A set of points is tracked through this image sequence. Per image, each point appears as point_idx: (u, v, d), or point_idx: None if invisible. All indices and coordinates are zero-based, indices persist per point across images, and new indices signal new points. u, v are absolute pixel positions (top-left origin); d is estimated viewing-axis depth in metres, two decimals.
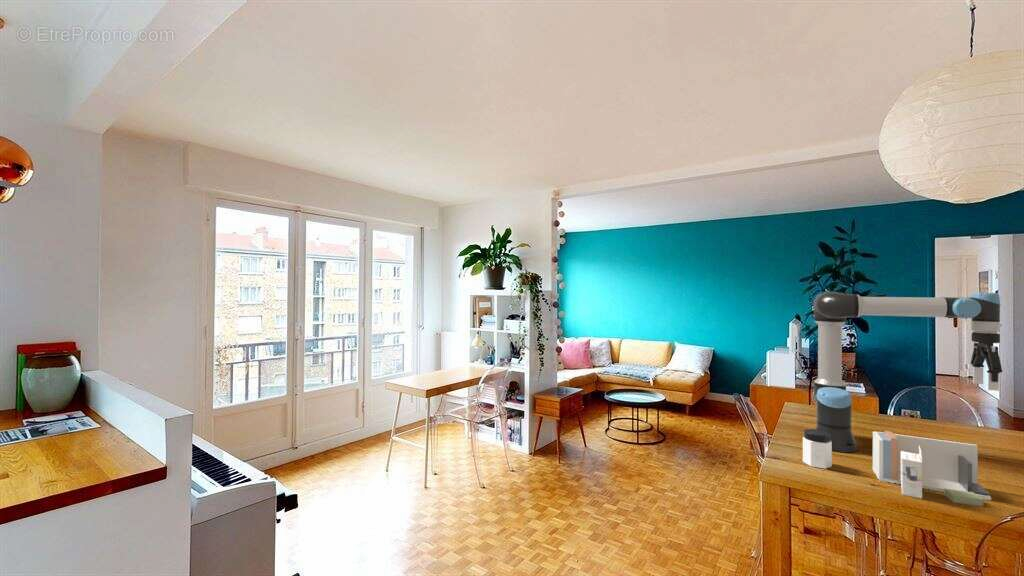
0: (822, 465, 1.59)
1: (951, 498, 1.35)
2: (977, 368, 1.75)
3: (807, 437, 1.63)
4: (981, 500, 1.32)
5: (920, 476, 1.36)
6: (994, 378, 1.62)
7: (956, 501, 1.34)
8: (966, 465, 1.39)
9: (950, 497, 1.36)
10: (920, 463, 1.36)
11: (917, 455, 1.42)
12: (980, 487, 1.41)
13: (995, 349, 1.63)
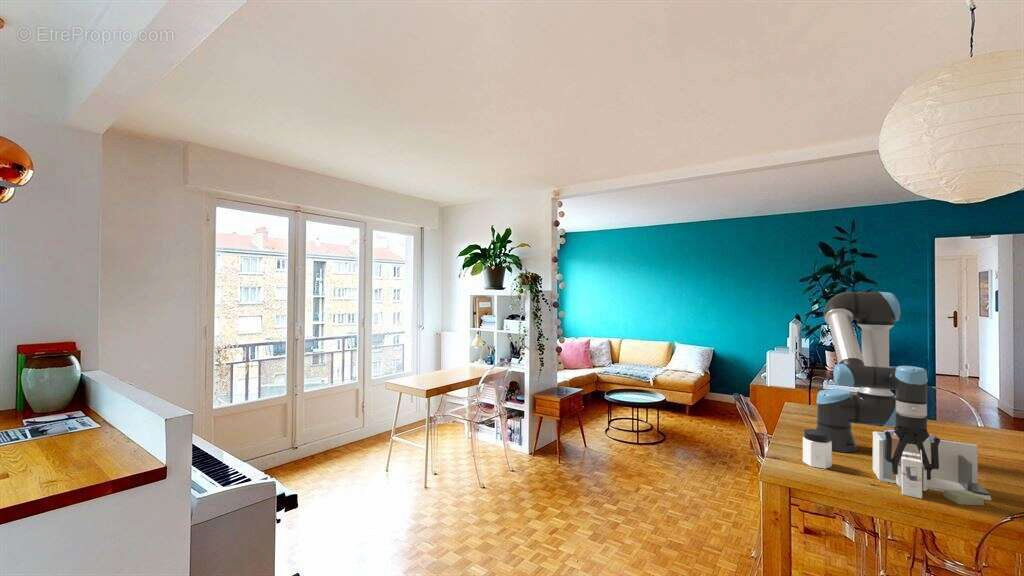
0: (822, 465, 1.59)
1: (955, 500, 1.34)
2: (922, 469, 1.40)
3: (807, 437, 1.63)
4: (982, 499, 1.33)
5: (920, 476, 1.36)
6: (892, 469, 1.43)
7: (961, 502, 1.33)
8: (966, 465, 1.39)
9: (953, 499, 1.35)
10: (920, 463, 1.36)
11: (917, 455, 1.42)
12: (980, 487, 1.41)
13: (885, 435, 1.44)
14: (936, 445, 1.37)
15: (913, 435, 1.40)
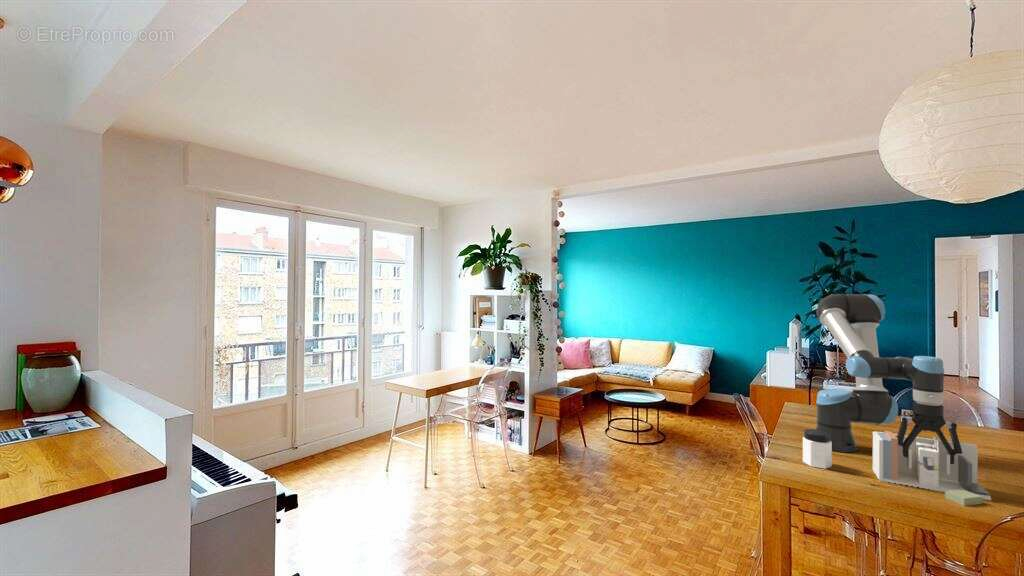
0: (822, 465, 1.59)
1: (960, 501, 1.33)
2: (945, 454, 1.45)
3: (807, 437, 1.63)
4: (981, 498, 1.34)
5: (937, 465, 1.42)
6: (903, 452, 1.50)
7: (965, 504, 1.33)
8: (966, 465, 1.39)
9: (958, 500, 1.34)
10: (937, 453, 1.42)
11: (932, 446, 1.48)
12: (980, 487, 1.41)
13: (902, 420, 1.50)
14: (954, 430, 1.42)
15: (930, 423, 1.46)
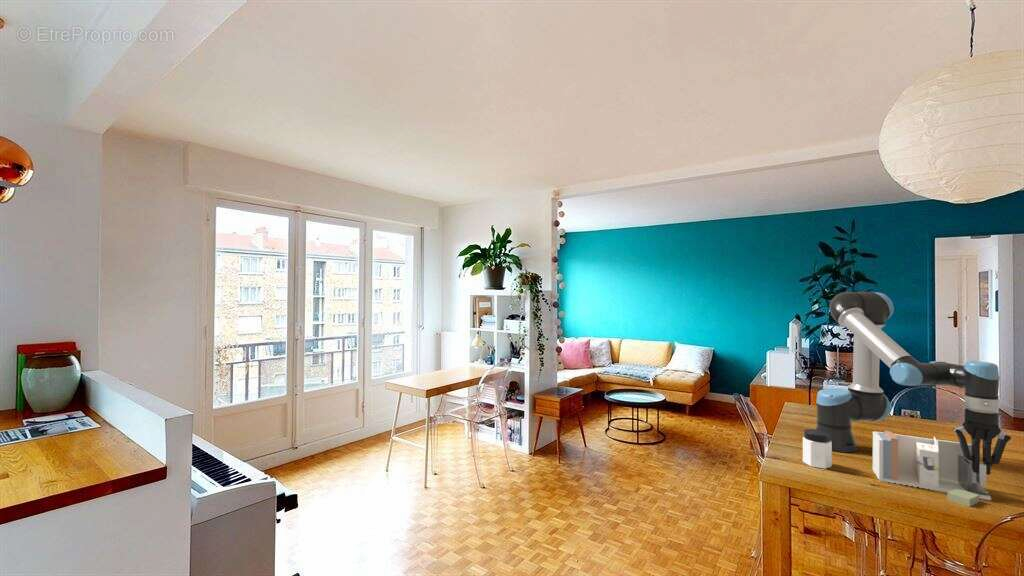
0: (822, 465, 1.59)
1: (965, 502, 1.32)
2: None
3: (807, 437, 1.63)
4: (978, 496, 1.35)
5: (937, 465, 1.42)
6: (972, 467, 1.41)
7: (970, 504, 1.32)
8: (966, 465, 1.39)
9: (962, 501, 1.33)
10: (937, 453, 1.42)
11: (932, 446, 1.48)
12: (980, 487, 1.41)
13: (956, 433, 1.43)
14: (1005, 442, 1.37)
15: (984, 430, 1.39)
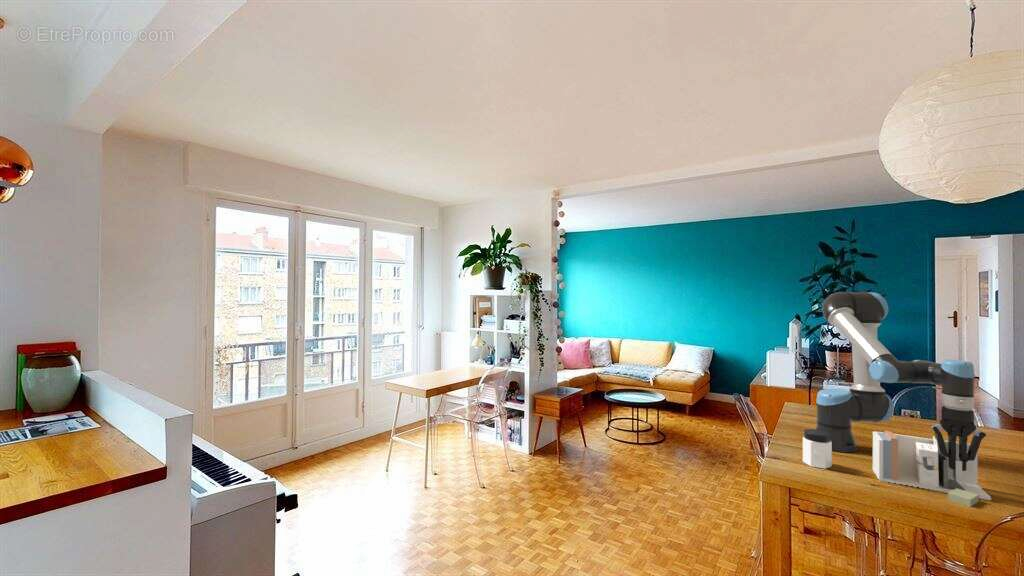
0: (822, 465, 1.59)
1: (966, 503, 1.32)
2: None
3: (807, 437, 1.63)
4: (978, 496, 1.35)
5: (936, 465, 1.42)
6: (949, 464, 1.44)
7: (971, 505, 1.32)
8: (943, 462, 1.42)
9: (963, 502, 1.33)
10: (936, 453, 1.42)
11: (932, 445, 1.48)
12: (956, 483, 1.43)
13: (933, 430, 1.45)
14: (980, 439, 1.40)
15: (960, 427, 1.42)
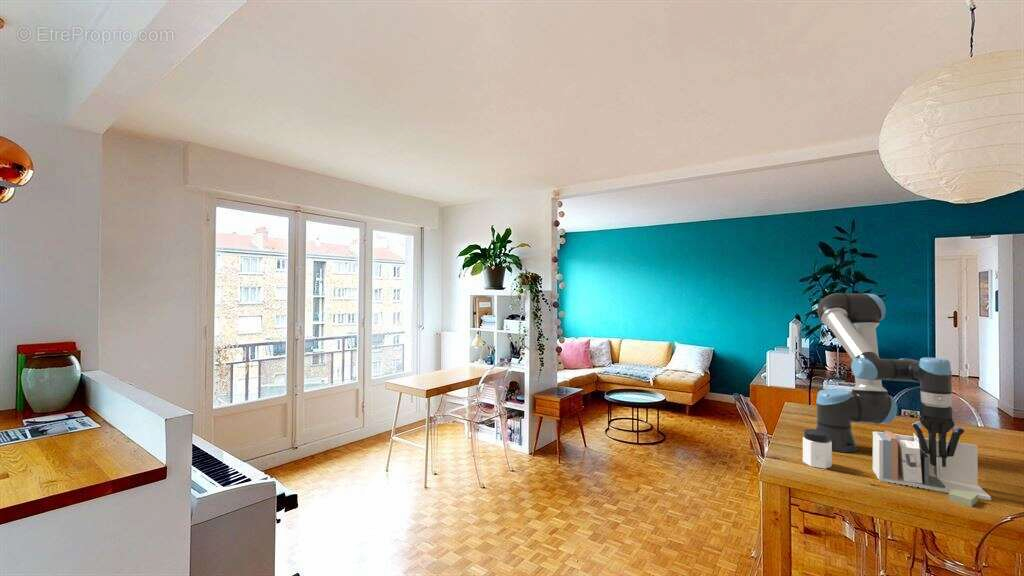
0: (822, 465, 1.59)
1: (967, 503, 1.32)
2: None
3: (807, 437, 1.63)
4: (977, 496, 1.35)
5: (919, 462, 1.45)
6: (930, 460, 1.46)
7: (971, 505, 1.32)
8: (924, 459, 1.45)
9: (964, 502, 1.33)
10: (918, 449, 1.45)
11: (913, 442, 1.50)
12: (937, 480, 1.46)
13: (914, 428, 1.48)
14: (958, 435, 1.42)
15: (939, 424, 1.44)
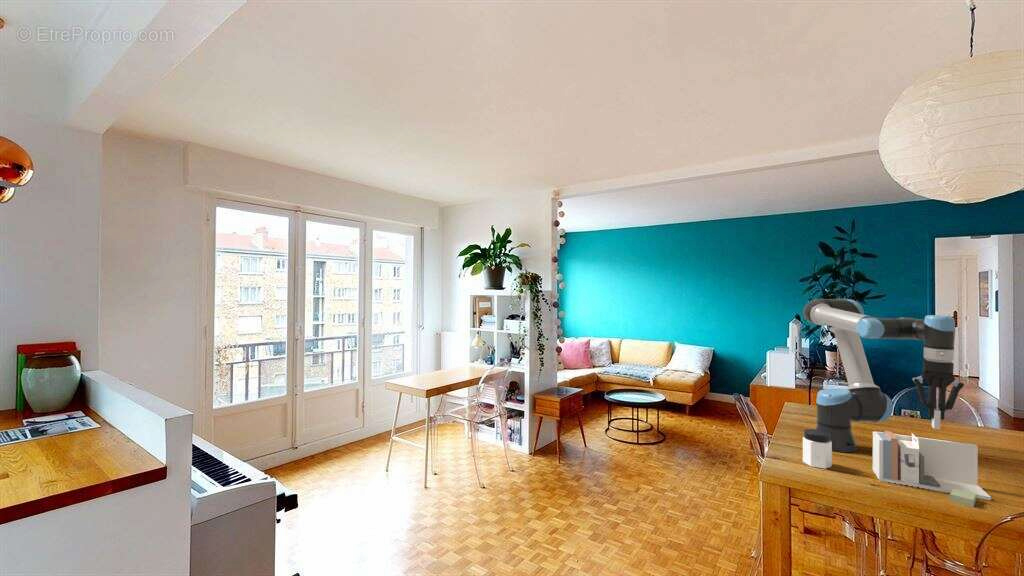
0: (822, 465, 1.59)
1: (969, 503, 1.32)
2: None
3: (807, 437, 1.63)
4: None
5: (917, 462, 1.45)
6: (928, 413, 1.52)
7: (973, 505, 1.32)
8: (919, 458, 1.45)
9: (966, 502, 1.33)
10: (917, 450, 1.45)
11: (911, 442, 1.50)
12: (933, 479, 1.46)
13: (915, 382, 1.53)
14: (958, 389, 1.47)
15: (940, 378, 1.49)
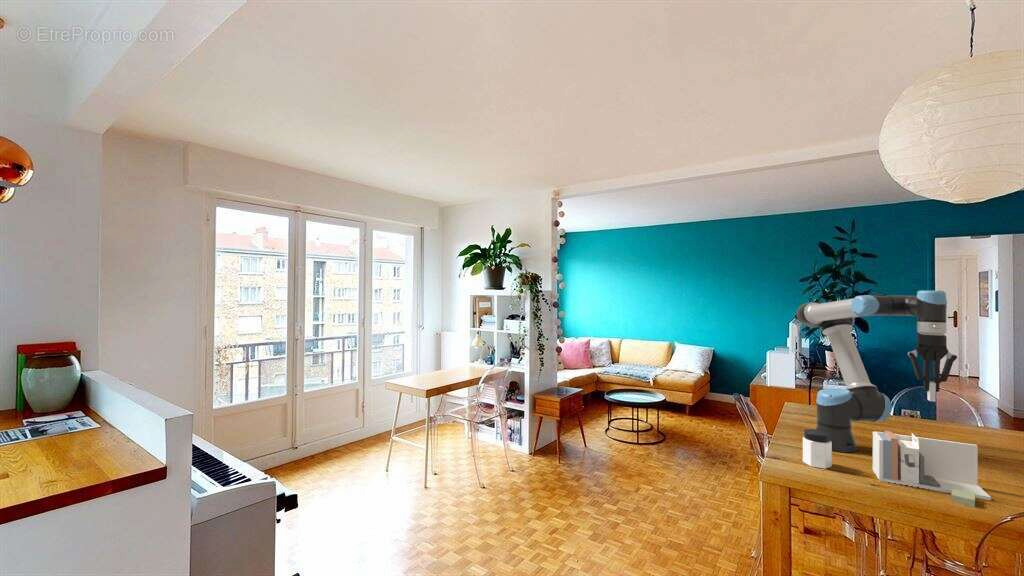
0: (822, 465, 1.59)
1: (970, 503, 1.32)
2: None
3: (807, 437, 1.63)
4: None
5: (917, 462, 1.45)
6: (924, 386, 1.55)
7: (974, 505, 1.32)
8: (919, 458, 1.45)
9: (967, 502, 1.32)
10: (917, 450, 1.45)
11: (911, 442, 1.50)
12: (933, 479, 1.46)
13: (910, 356, 1.57)
14: (951, 361, 1.51)
15: (934, 351, 1.53)
